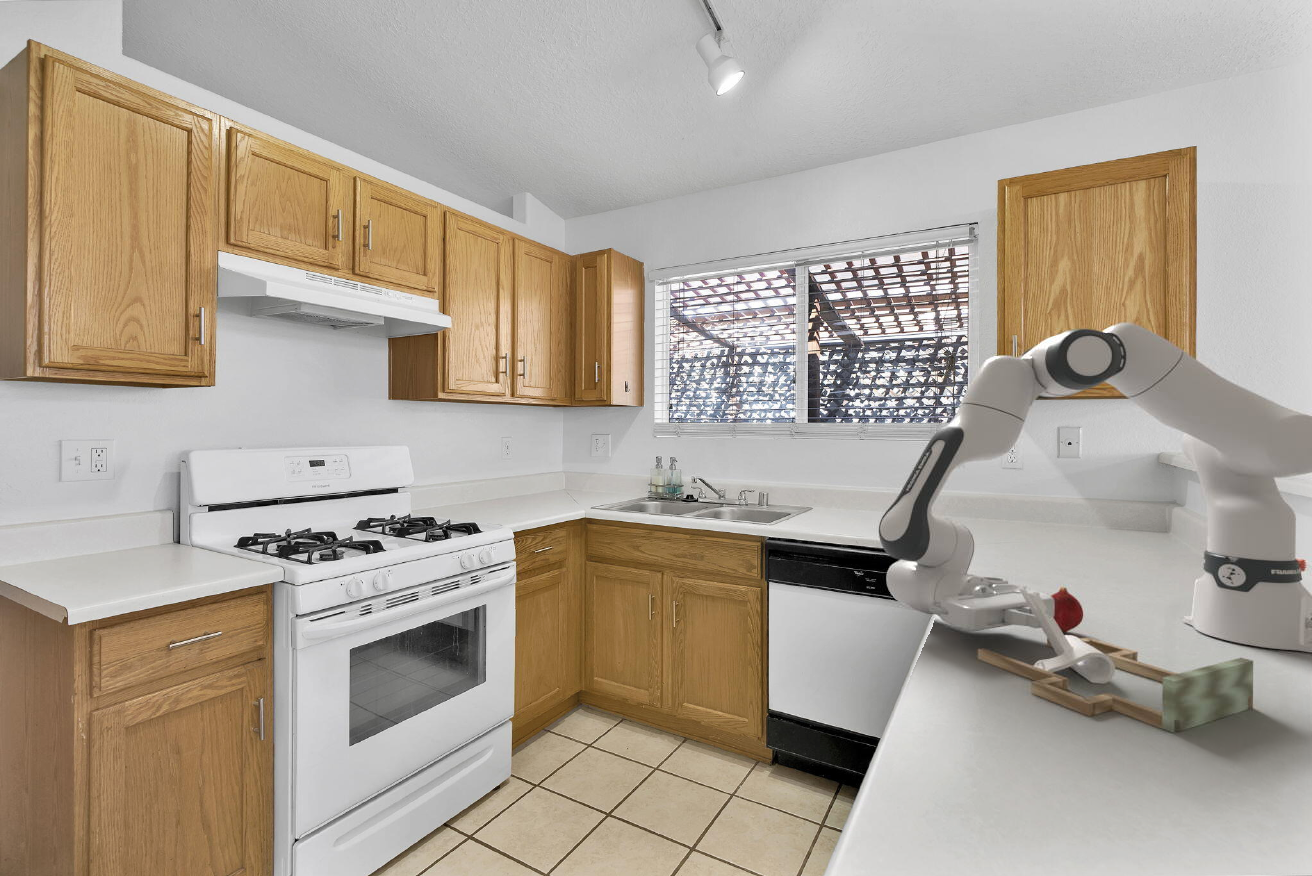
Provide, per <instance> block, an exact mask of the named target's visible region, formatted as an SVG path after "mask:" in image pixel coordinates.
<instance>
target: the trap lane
mask: <svg viewBox="0 0 1312 876" xmlns="http://www.w3.org/2000/svg"><path fill="white" fill-rule="evenodd" d="M1080 639H1081V640H1083V641H1084V642H1085V643H1087V644H1088V645H1090V646H1092V647H1094V648H1095V649H1097V650H1099V651H1100V652H1102V653H1104V654H1105V655H1107V656H1108V657H1110V658H1111V660H1112V661H1113V663H1114V666H1115V669H1120V670H1122V671H1125V672H1126V671H1127V672H1129V673H1133V674H1135V675H1139V676H1141V677H1144V678H1147V679H1148V678H1149V679H1151V680H1153V681H1157V682H1161V683H1162V688H1161V689H1162V695H1161V696H1162V698H1161V700H1162V701H1161V702H1162V705H1161V706H1162V708H1161V710H1162V711H1161V710H1157V709H1155V708H1151V707H1149V706H1146V705H1143V704H1141V703H1138V702H1136V701H1132V700H1130V699H1126V698H1124V697H1121V696H1118V695H1116V694H1112V693H1109V692H1106V693H1101V694H1099V695H1094V696H1090V697H1084V696H1082V695H1079V694H1077V693H1074V692H1072V691H1069V689H1070V688H1069V677H1064V676H1062V675H1060V674H1056V673H1055V672H1053V673H1051V672H1049V671H1046V670H1043V669H1040V668H1037V667H1035V666H1033V665H1031V664H1029V663H1026V662H1022V661H1020V660H1017V659H1014V658H1012V657H1009V656H1006V655H1003V654H1001V653H998V652H995V651H992V650H990V649H987V648H978V649H977V660H980V661H983V662H985V663H987V664H990V665H992V666H995V667H998V668H1000V669H1003V670H1006V671H1009V672H1011V673H1014V674H1016V675H1020V676H1022V677H1024V678H1027V679H1029V680H1032V681H1031V686H1030V687H1031V689H1030V690H1031V694H1033V695H1035V696H1038V697H1041V698H1042V699H1045V700H1047V701H1050V702H1053V703H1055V704H1058V705H1061V706H1062V707H1065V708H1068V709H1071V710H1072V711H1075V712H1077V713H1080V714H1082V715H1084V716H1087V717H1092V716H1095V715H1100V714H1101V713H1102V714H1103V713H1106V712H1110V711H1114V712H1117V713H1120V714H1123V715H1125V716H1128V717H1131V718H1133V719H1136V720H1138V721H1140V722H1144V723H1146V724H1149V725H1152V726H1154V727H1157V728H1159V729H1162V730H1164V731H1168V732H1170V733H1172V734H1177V733H1179V732H1182V731H1185V730H1188V729H1192V728H1194V727H1199V726H1201V725H1203V724H1208V723H1210V722H1214V721H1216V720H1219V719H1222V718H1226V717H1229V716H1232V715H1236V714H1239V713H1241V712H1244V711H1248V710H1251V709H1253V707H1254V660H1252V659H1248V658H1243V657H1239V658H1233V659H1230V660H1227V661H1223V662H1218V663H1214V664H1210V665H1207V666H1204V667H1198V668H1195V669H1191V670H1187V671H1184V672H1174V671H1171V670H1167V669H1165V668H1161V667H1158V666H1154V665H1152V664H1148V663H1144V662H1141V661H1138V651H1136V650H1133V649H1129V648H1126V647H1123V646H1119V645H1115V644H1112V643H1108V642H1105V641H1101V640H1098V639H1095V638H1091V637H1087V636H1086V637H1082V638H1080ZM1046 642H1047V643H1046V646H1048V647H1051V648H1053V646H1052V645H1051V643H1050V641H1049V639H1048V638H1047V637H1046Z"/></svg>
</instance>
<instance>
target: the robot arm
mask: <svg viewBox="0 0 1312 876" xmlns="http://www.w3.org/2000/svg"><path fill="white" fill-rule="evenodd" d="M1103 383H1106V384H1107V385H1110V386H1113V387H1114V388H1115V389H1116V390H1117V391H1118V392H1120V393H1121V394H1122V395H1123V396H1125V397H1126V398H1128V399H1129V400H1131V401H1132V402H1133V403H1135V404H1136V405H1137V406H1138V407H1140V408H1141V409H1142V410H1143V411H1145V412H1147V413H1148V414H1149V415H1150V416H1152V417H1153V418H1154V419H1156V420H1157V421H1159V422H1160V423H1161V424H1163V425H1165V426H1167V427H1169V428H1172V429H1176V430H1177V431H1181V432H1183V436H1182V439H1181V448H1182V452H1183V454H1184V455H1185V457H1186V458H1187V459H1188V460H1189V462H1191V464H1192V465H1193V466H1194V468H1195V471H1196V474H1197V477H1198V480H1199V483H1200V486H1201V489H1202V492H1203V497H1204V501H1205V508H1206V514H1207V515H1206V522H1207V524H1206V525H1207V526H1206V530H1207V532H1206V534H1207V538H1206V539H1207V540H1206V541H1207V542H1206V543H1207V544H1206V550H1205V551H1204V553H1203V558H1202V563H1203V571H1204V572H1205V573H1204V574H1203V575H1202V576H1200V577H1199V578H1197V579H1196V580H1195V583H1194V590H1193V599H1192V608H1191V609H1192V610H1191V615H1185V616H1183V621H1182V622H1183V623H1185V624H1187V625H1190V626H1192V627H1193V628H1194V629H1195V630H1196V631H1197V632H1200V633H1202V634H1204V635H1207V636H1210V637H1214V638H1217V639H1221V640H1225V641H1229V642H1233V643H1237V644H1243V645H1247V646H1248V645H1249V646H1254V647H1259V648H1267V649H1276V650H1277V649H1278V650H1287V651H1289V650H1290V651H1299V652H1306V653H1312V594H1311V592H1309V590H1308V589H1307V588H1306V587H1305V586H1304V585H1303V584H1302V582H1301V581H1303V576H1302V572H1304V571H1306V568H1307V562H1306V560H1305V559H1303V558H1299V559H1298V558H1296V548H1297V547H1296V540H1297V539H1296V533H1297V532H1296V531H1297V529H1296V528H1297V525H1296V523H1297V522H1296V521H1297V517H1296V513H1295V510H1293V508H1292V507H1291V506H1290V505H1289V504H1288V503H1287V502H1286V501H1285V500H1284V498H1283V496H1282V494H1281V493H1280V490H1279V489H1278V486H1277V483H1276V479H1275V478H1277V479H1278V478H1289V477H1295V476H1301V475H1305V474H1306V475H1307V474H1310V473H1312V415H1309V414H1305V413H1303V412H1300V411H1296V410H1292V409H1290V408H1288V407H1285V406H1283V405H1281V404H1278V403H1276V402H1274V401H1273V400H1270V399H1268V398H1265V397H1263V396H1262V395H1259V394H1258V393H1255V392H1253V391H1251V390H1248V389H1246V388H1244V387H1241V386H1240V385H1238V384H1235V383H1234V382H1231V381H1230V380H1227V379H1226V378H1224V377H1222V376H1221V375H1219V374H1217V373H1216V372H1214V371H1213V370H1211V368H1209V367H1207V366H1206V365H1205V364H1203V363H1201V362H1200V361H1199V360H1197V359H1196V358H1194V357H1193V356H1191V355H1190V354H1188V352H1186V351H1184V350H1183V349H1181V348H1180V347H1179V346H1177V345H1175V344H1174V343H1173V342H1171V341H1170V340H1167V339H1166V338H1164V337H1162V336H1161V335H1159V334H1157V333H1155V332H1153V331H1151V330H1149V329H1147V328H1144V327H1142V326H1140V325H1138V324H1136V323H1132V322H1119V323H1116V324H1113V325H1111V326H1109V327H1107V328H1105V329H1104V330H1102V331H1100V330H1096V329H1091V328H1090V329H1089V328H1076V329H1075V328H1074V329H1070V330H1066V331H1064V332H1062V333H1059V334H1056V335H1053V336H1049V337H1048V338H1046V339H1044V340H1042V341H1041V342H1040V343H1038V344H1037V345H1035V346H1032V347H1031V348H1029V349H1028V350H1026V351H1024V353H1021V355H1020V356H1019V357H1016V356H1012V355H1005V354H1004V355H995V356H992V357H990V358H988V359H986V360H984V362H982V364H981V366H980V367H979V368H978V370H977V372H976V373H975V375H974V377H973V379H972V380H971V381H970V384H969V386H968V387H967V390H966V391H965V393H964V396H963V398H962V400H961V402H960V405H959V407H958V410H957V412H956V414H955V415H954V417H953V418H952V420H951V421H950V422H949V423H948V424H947V425H946V426H944V427H941V428H940V429H939V430H938V431H936V432H935V434H934V435H933V436H932V437H931V438H930V440H929V441H928V443H927V444H926V447H925V449H924V450H923V452H922V453H921V455H920V456H919V458H918V460H917V462H916V464H915V465H914V467H913V469H912V471H911V473H910V475H909V476H908V479H906V482H905V483H904V485H903V487H902V488H901V491H900V492H899V494H898V496H897V497H896V499H895V500H894V502H892V503H891V505H890V506H889V508H888V509H887V510H886V511H885V513H884V514H883V515H882V517H881V519H880V522H879V524H878V525H879V526H878V536H879V541H880V543H881V546H882V548H883V550H884V552H886V554H887V555H888V556H890V557H891V558H894V559H896V560H897V561H895V562H894V563H892V564H891V565H890V566H889V568H888V570H887V572H886V579H885V580H886V581H885V582H886V586H887V588H888V591H889V592H890V595H891V596H893V598H894V599H895V600H896V601H897V602H899V603H901V604H902V605H904V606H905V607H908V608H910V609H912V610H915V611H918V612H921V613H923V614H927V615H936V616H937V617H939V618H940V619H941V621H943V622H945V623H947V624H950V625H952V626H954V627H956V628H959V629H962V630H964V631H969V632H977V631H978V632H979V631H984V630H989V629H996V628H1000V627H1002V628H1003V627H1007V626H1023V627H1030V628H1033V629H1042V628H1041V626H1040V624H1039V622H1038V621H1037V619H1036V617H1035V615H1034V614H1033V612H1032V610H1031V609H1030V607H1029V605H1028V603H1027V602H1026V600H1025V598H1024V597H1023V595H1022V593H1021V592H1020V590H1019V587H1021V586H1022V585H1018V584H1012V583H1009V580H1007V579H1005V578H1001V577H986V576H979V575H975V574H971V573H970V574H968V571H969V568H970V565H971V562H972V560H973V557H974V552H975V541H974V536H973V533H971V531H970V529H968V528H967V527H966V526H965V525H963V524H961V523H959V522H956V521H953V520H952V519H950V518H949V519H948V518H947V517H943V516H940V515H937V514H935V513H932V509H933V506H934V505H935V502H936V501H937V499H938V497H939V495H940V493H941V492H942V490H943V488H944V487H945V484H946V482H947V481H948V479H949V477H950V475H951V474H952V472H953V471H955V469H957V467H958V468H959V467H960V466H962V465H963V464H966V463H972V462H985V461H992V460H994V459H997V458H1000V457H1002V456H1004V455H1006V454H1008V453H1009V452H1010V451H1011V450H1012V448H1013V447H1014V446H1015V444H1016V442H1017V441H1018V439H1019V436H1020V435H1021V433H1022V430H1023V427H1024V424H1025V422H1026V419H1027V417H1028V413H1029V410H1030V407H1032V405H1033V403H1034V402H1035V401H1036V399H1042V400H1045V399H1047V400H1048V399H1054V398H1055V399H1056V398H1061V397H1067V396H1072V395H1075V394H1077V393H1080V392H1082V391H1084V390H1090V389H1092V388H1095V387H1097V386H1099V385H1101V384H1103ZM1025 589H1026V591H1027V592H1028V593H1032V594H1033V593H1034V592H1036V591H1037V592H1039V593H1040V595H1039V596H1040V598H1041V599H1042V601H1043V602H1044V604H1045V606H1046V607H1047V610H1045V613H1046V614H1047V616H1048V617H1049V619H1050V618H1052V617H1054V609H1055V605H1054V599H1053V598H1052V597H1051V595H1049V593H1048V594H1047V593H1045V592H1042V591H1039V590H1036V589H1031V588H1028V587H1027V588H1025Z"/></svg>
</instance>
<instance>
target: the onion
mask: <svg viewBox="0 0 1312 876" xmlns="http://www.w3.org/2000/svg"><path fill="white" fill-rule="evenodd" d="M1050 596H1051V597H1052V598H1053V599H1054V605H1055V609H1054V617H1053V618H1054V620H1055V621H1056V623H1057V625H1058V626H1059V628H1060V629H1061V631H1062V632H1063V634H1064V633H1067V632H1069V631H1071V630H1074V629H1075V628H1077V627H1078V626H1079V625H1080V624H1081V623H1082V621H1083V619H1084V610H1083V606H1082V604H1081V603H1080V601H1079V600H1078V599H1077V598H1076V597H1075V596H1073V594H1070V592H1068V589H1067V587H1065V586H1061V587H1060V588H1059V590H1058V591H1057V592H1055V593H1053V594H1051V595H1050Z"/></svg>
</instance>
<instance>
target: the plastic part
mask: <svg viewBox="0 0 1312 876" xmlns="http://www.w3.org/2000/svg"><path fill="white" fill-rule="evenodd" d="M1020 586H1021V587H1019V590H1020V592H1021V593H1022V595H1023V597H1024V598H1025V600H1026V602H1027V603H1028V605H1029V607H1030V609H1031V610H1032V612H1033V614H1034V615H1035V617H1036V619H1037V621H1038V622H1039V624H1040V626H1041V628H1040V629H1042V631H1043V633H1044V634H1045V636H1046V639H1047V638H1048V639H1049V641H1050V643H1051V645H1052V646H1053V647H1052V649H1053V650H1054V652H1055V653H1056V655H1057V656H1054V657H1052V658H1046V659H1040V660H1037V661H1036V662H1035V663H1034V664H1033V665H1032V666H1035V667H1037V668H1040V669H1043V670H1046V671H1049V672H1051V673H1055V672H1058V671H1061V670H1065V669H1067V668H1070V669H1072V670H1073V671H1075V672H1076V673H1078V675H1080V676H1082V677H1083V678H1085V679H1086V680H1087V681H1089V682H1090V683H1093V684H1102V685H1103V684H1107V683H1109V682H1110V681H1112V680H1113V678H1114V677H1115V672H1116V667H1115V666H1114V663H1113V661H1112V660H1111V658H1110V657H1108V656H1107V655H1105V654H1104V653H1102V652H1100V651H1099V650H1097V649H1095V648H1094V647H1092V646H1090V645H1088V644H1087V643H1085V642H1084V641H1083V640H1081V638H1079V637H1078V636H1075V635H1072V634H1071V635H1070V634H1069V635H1068V634H1064V633H1063V632H1062V631H1061V629H1060V628H1059V626H1058V625H1057V623H1056V621H1055V620H1054V618H1053V617H1052V618H1050V619H1049V617H1048V616H1047V614H1046V613H1045V610H1047V607H1046V606H1045V604H1044V602H1043V601H1042V599H1041V598H1040V596H1039V595H1040V593H1039V592H1040V591H1039V592H1037V591H1038V590H1036V592H1034V593H1033V594H1032V593H1028V592H1027V591H1026V589H1025V588H1028V587H1027V585H1024V584H1023V585H1020Z"/></svg>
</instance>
